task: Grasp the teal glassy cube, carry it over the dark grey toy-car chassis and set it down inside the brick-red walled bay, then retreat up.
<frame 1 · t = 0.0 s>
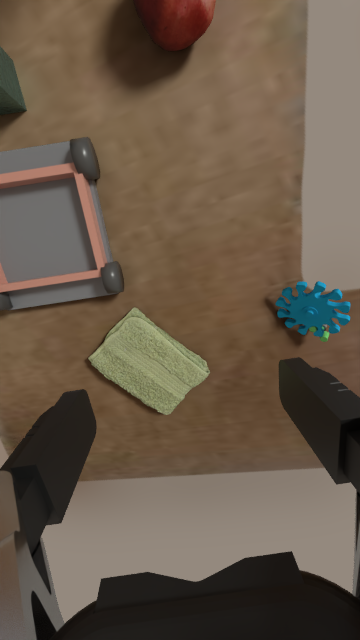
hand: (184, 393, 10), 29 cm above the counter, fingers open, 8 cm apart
fruit: (174, 19, 29), on the counter
gear: (298, 306, 40), on the counter
chassis: (46, 233, 35), on the counter
washcloth: (151, 360, 43), on the counter
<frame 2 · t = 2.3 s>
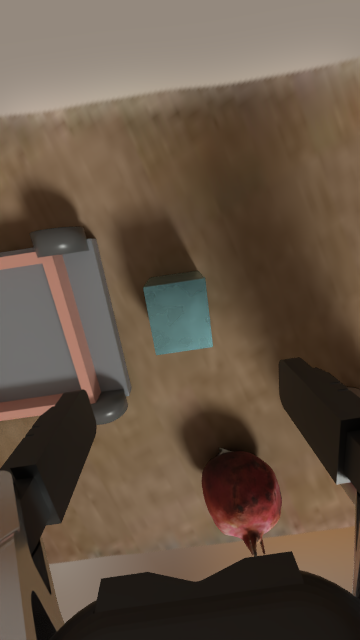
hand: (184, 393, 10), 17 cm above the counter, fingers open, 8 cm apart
teal glassy cube: (177, 302, 26), on the counter
fruit: (232, 461, 33), on the counter
chassis: (25, 334, 26), on the counter
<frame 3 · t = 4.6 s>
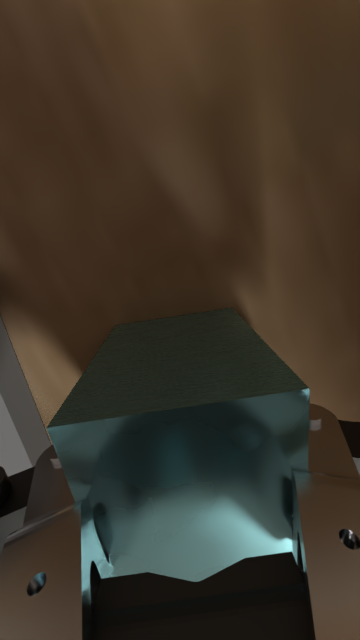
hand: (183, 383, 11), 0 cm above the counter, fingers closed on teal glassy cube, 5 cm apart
teal glassy cube: (183, 377, 11), on the counter, touching gripper
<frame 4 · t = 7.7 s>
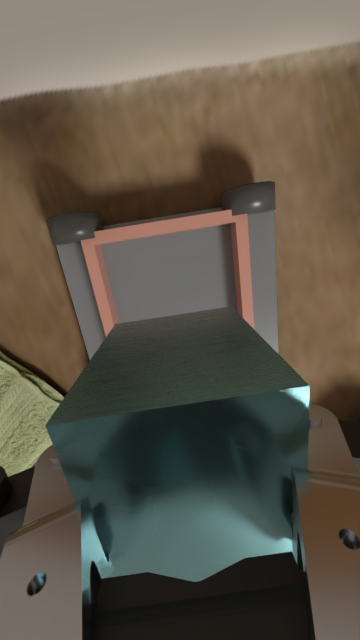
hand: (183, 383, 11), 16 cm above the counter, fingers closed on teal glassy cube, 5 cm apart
teal glassy cube: (183, 376, 11), point 15 cm above the counter, touching gripper
chassis: (176, 304, 26), on the counter
washcloth: (6, 417, 30), on the counter
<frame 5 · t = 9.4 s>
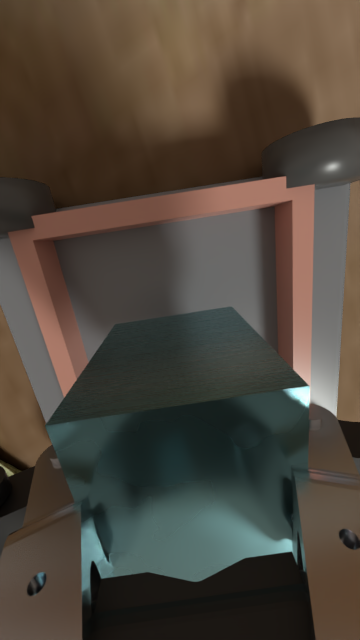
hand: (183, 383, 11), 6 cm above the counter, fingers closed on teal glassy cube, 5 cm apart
teal glassy cube: (183, 376, 11), point 6 cm above the counter, touching gripper
chassis: (180, 334, 16), on the counter
when the fingers open (3 cm above the counter, at t = 10.8 s): teal glassy cube drops 1 cm, resting on chassis.
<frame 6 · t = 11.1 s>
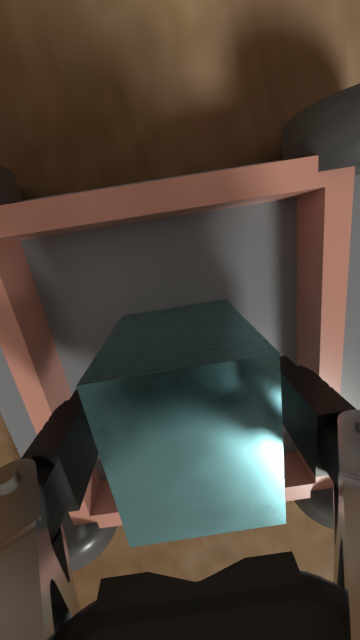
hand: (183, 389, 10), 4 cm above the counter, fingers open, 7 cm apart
teal glassy cube: (183, 362, 12), point 1 cm above the counter, touching chassis
chassis: (180, 351, 14), on the counter
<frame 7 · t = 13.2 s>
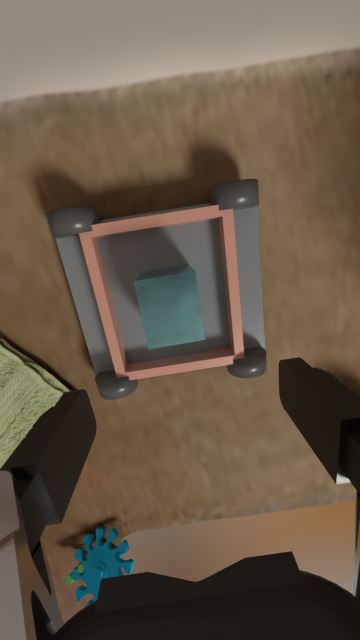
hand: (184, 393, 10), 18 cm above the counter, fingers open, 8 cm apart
teal glassy cube: (170, 296, 26), point 1 cm above the counter, touching chassis
gear: (106, 539, 39), on the counter
chassis: (169, 294, 27), on the counter
washcloth: (7, 405, 31), on the counter
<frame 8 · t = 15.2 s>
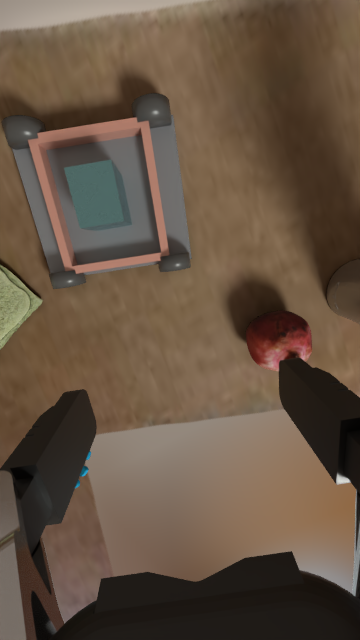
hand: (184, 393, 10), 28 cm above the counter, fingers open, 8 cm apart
teal glassy cube: (108, 203, 32), point 1 cm above the counter, touching chassis
fruit: (267, 331, 40), on the counter
chassis: (110, 206, 33), on the counter
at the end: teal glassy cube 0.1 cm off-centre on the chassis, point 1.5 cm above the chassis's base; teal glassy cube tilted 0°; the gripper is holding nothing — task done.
